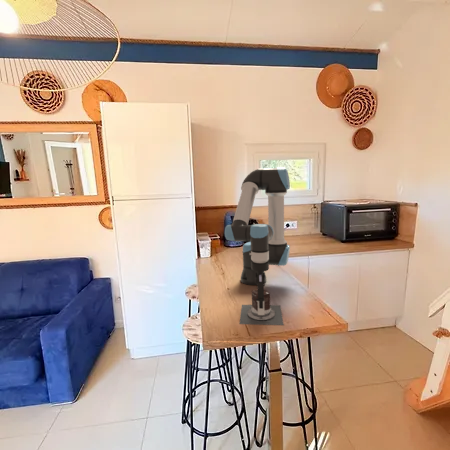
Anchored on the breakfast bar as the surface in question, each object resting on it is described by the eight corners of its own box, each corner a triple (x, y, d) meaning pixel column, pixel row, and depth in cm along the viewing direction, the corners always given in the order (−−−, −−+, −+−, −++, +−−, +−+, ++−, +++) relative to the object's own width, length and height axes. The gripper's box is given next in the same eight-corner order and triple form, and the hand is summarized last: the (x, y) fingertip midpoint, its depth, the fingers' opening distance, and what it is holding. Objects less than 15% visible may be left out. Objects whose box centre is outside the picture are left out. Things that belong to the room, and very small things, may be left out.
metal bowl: (247, 307, 128) (247, 301, 128) (274, 308, 127) (274, 301, 126) (246, 320, 117) (246, 314, 116) (275, 321, 115) (275, 314, 115)
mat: (241, 305, 132) (241, 304, 132) (280, 306, 130) (280, 305, 130) (239, 325, 114) (239, 324, 114) (283, 326, 112) (283, 325, 112)
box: (251, 306, 123) (251, 290, 122) (263, 303, 125) (263, 288, 124) (258, 312, 117) (257, 295, 116) (270, 309, 119) (270, 293, 118)
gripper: (251, 252, 131) (252, 295, 134) (250, 269, 106) (251, 321, 110) (267, 252, 130) (268, 295, 133) (270, 269, 105) (271, 321, 109)
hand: (260, 307), depth 121 cm, fingers open, 13 cm apart
